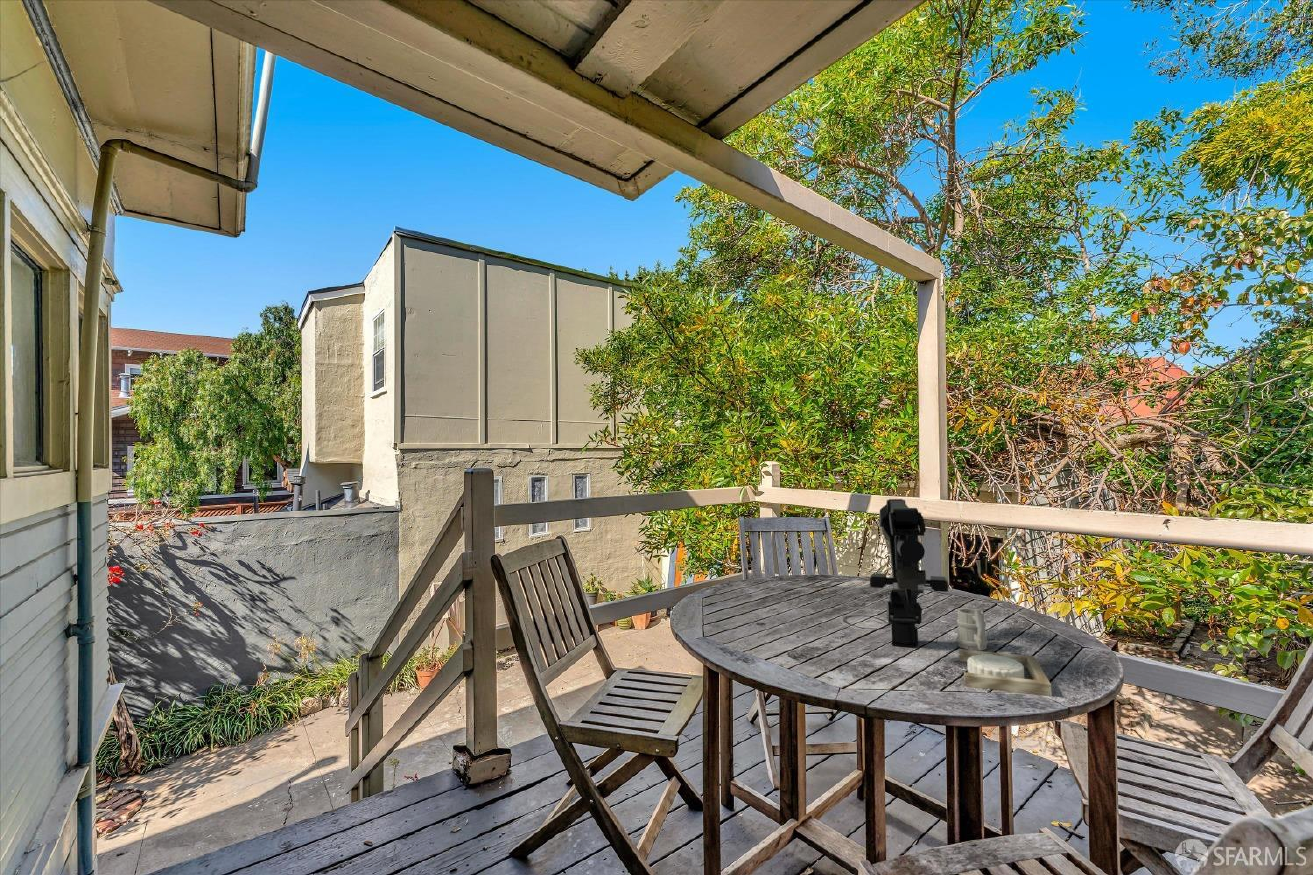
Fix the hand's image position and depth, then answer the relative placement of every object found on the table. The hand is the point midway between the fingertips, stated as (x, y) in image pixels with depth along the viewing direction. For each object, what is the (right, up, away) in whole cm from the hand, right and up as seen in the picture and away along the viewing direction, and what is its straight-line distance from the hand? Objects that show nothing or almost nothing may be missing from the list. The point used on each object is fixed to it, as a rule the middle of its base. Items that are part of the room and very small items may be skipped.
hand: (909, 614), depth 152 cm
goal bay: (+16, -11, -12) cm, 23 cm away
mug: (+21, -12, +7) cm, 25 cm away
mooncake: (+16, -12, -11) cm, 23 cm away
